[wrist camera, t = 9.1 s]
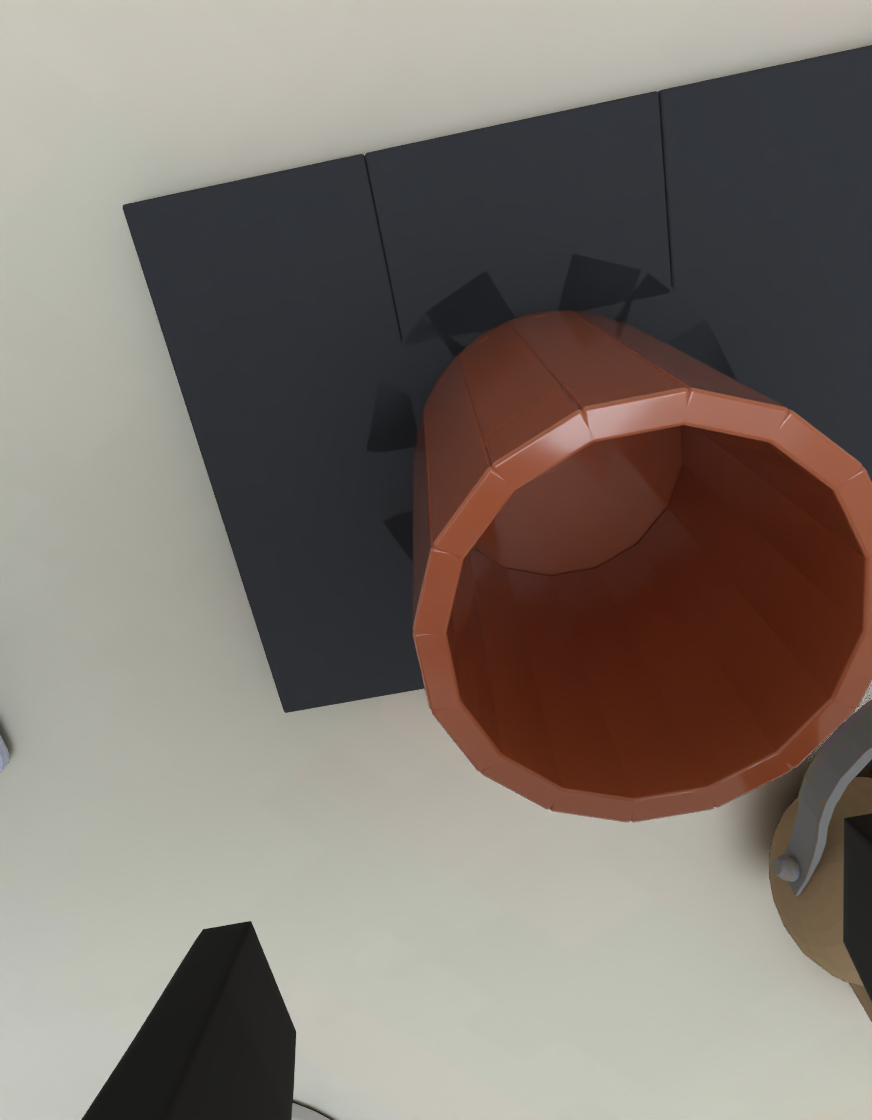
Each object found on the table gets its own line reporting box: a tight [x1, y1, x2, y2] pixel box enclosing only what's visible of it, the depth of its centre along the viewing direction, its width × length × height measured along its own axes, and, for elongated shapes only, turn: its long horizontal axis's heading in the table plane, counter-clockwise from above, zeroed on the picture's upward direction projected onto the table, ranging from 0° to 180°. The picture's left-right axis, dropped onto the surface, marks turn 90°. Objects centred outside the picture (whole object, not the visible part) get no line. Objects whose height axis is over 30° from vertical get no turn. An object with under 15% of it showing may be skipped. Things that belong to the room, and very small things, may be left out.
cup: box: [413, 310, 872, 822], centre depth 13 cm, size 6×6×8 cm
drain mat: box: [123, 45, 872, 713], centre depth 16 cm, size 16×11×1 cm
